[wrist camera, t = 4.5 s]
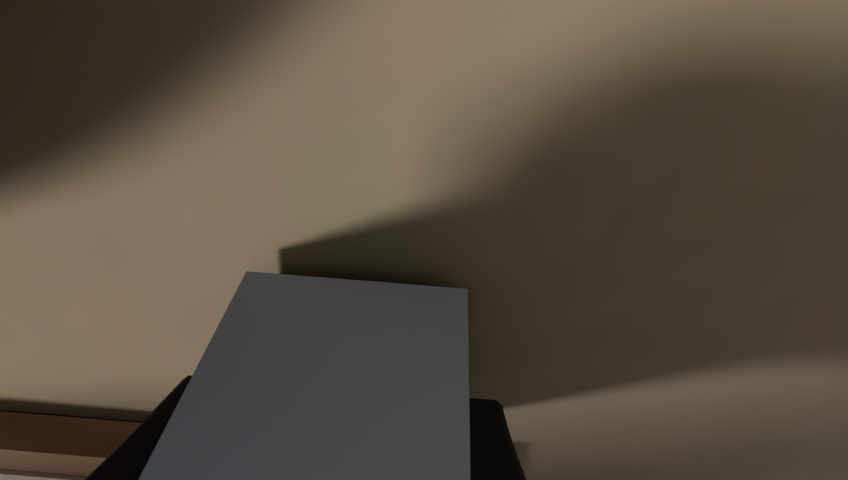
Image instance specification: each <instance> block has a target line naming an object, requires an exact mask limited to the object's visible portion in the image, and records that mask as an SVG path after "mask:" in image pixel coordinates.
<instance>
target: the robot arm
mask: <svg viewBox="0 0 848 480" xmlns="http://www.w3.org/2000/svg"><path fill="white" fill-rule="evenodd" d="M191 377H192V376H187V377H186V378H185V379H183V380H182V381H181V382H180V383H179V384H178V385H177V387H176V388H175V389H174V390H173V391H172V392H171V393H170V394H169V395H168V396H167V397H166V398H165V399H164V400H163V401H162V402H161V403H160V404H159V405H158V406H157V407H156V408H155V410H154V411H153V412H152V413H151V414H150V415H149V416H148V417H147V418H146V419H145V420H144V421H143V422H142V423H141V424H140V425H139V426H138V427H137V428H136V429H135V430H134V431H133V432H132V433H131V434H130V435H129V436H128V437H127V438H126V439H125V440H124V441H123V442H122V443H121V444H120V445H119V446H118V447H117V448H116V449H115V450H114V451H113V452H112V453H111V454H110V455H109V456H108V457H107V458H106V459H105V460H104V461H103V462H102V463H101V464H100V465H99V466H98V467H97V468H96V469H95V470H94V471H93V472H92V473H91V474H90V475H89V476H88V477H87V478H86V479H85V480H139V478H140V476H141V474H142V472H143V470H144V468H145V466H146V464H147V462H148V460H149V458H150V456H151V454H152V453H153V451H154V449H155V447H156V445H157V443H158V441H159V439H160V437H161V435H162V433H163V431H164V429H165V428H166V426H167V424H168V422H169V420H170V418H171V416H172V414H173V412H174V410H175V408H176V406H177V404H178V402H179V401H180V399H181V397H182V395H183V393H184V391H185V389H186V387H187V385H188V383H189V381H190V379H191ZM469 410H470V480H526V478H525V476H524V473H523V470H522V468H521V465H520V462H519V460H518V457H517V454H516V451H515V448H514V445H513V442H512V439H511V436H510V433H509V430H508V426H507V423H506V419H505V415H504V411H503V407H502V405H501V404H500V403H499V402H498V401H497V400H485V399H473V398H469Z"/></svg>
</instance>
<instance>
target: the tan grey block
mask: <svg viewBox="0 0 848 480" xmlns="http://www.w3.org/2000/svg"><path fill="white" fill-rule="evenodd" d="M139 480H470V410H469V339H468V289H464V288H451V287H438V286H426V285H413V284H400V283H388V282H375V281H362V280H349V279H337V278H324V277H311V276H299V275H286V274H273V273H260V272H248V271H246V273H245V275H244V277H243V279H242V281H241V283H240V285H239V287H238V289H237V291H236V293H235V295H234V297H233V298H232V300H231V302H230V304H229V306H228V308H227V310H226V312H225V314H224V316H223V318H222V320H221V322H220V323H219V325H218V327H217V329H216V331H215V333H214V335H213V337H212V339H211V341H210V343H209V345H208V347H207V349H206V350H205V352H204V354H203V356H202V358H201V360H200V362H199V364H198V366H197V368H196V370H195V372H194V374H193V375H192V377H191V379H190V381H189V383H188V385H187V387H186V389H185V391H184V393H183V395H182V397H181V399H180V401H179V402H178V404H177V406H176V408H175V410H174V412H173V414H172V416H171V418H170V420H169V422H168V424H167V426H166V428H165V429H164V431H163V433H162V435H161V437H160V439H159V441H158V443H157V445H156V447H155V449H154V451H153V453H152V454H151V456H150V458H149V460H148V462H147V464H146V466H145V468H144V470H143V472H142V474H141V476H140V478H139Z"/></svg>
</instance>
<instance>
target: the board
mask: <svg viewBox="0 0 848 480" xmlns="http://www.w3.org/2000/svg"><path fill="white" fill-rule="evenodd" d="M140 424H141V423H138V422H126V421H113V420H101V419H89V418H77V417H65V416H53V415H41V414H29V413H16V412H4V411H0V480H85V479H86V478H87V477H88V476H89V475H90V474H91V473H92V472H93V471H94V470H95V469H96V468H97V467H98V466H99V465H100V464H101V463H102V462H103V461H104V460H105V459H106V458H107V457H108V456H109V455H110V454H111V453H112V452H113V451H114V450H115V449H116V448H117V447H118V446H119V445H120V444H121V443H122V442H123V441H124V440H125V439H126V438H127V437H128V436H129V435H130V434H131V433H132V432H133V431H134V430H135V429H136V428H137V427H138V426H139V425H140Z"/></svg>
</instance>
